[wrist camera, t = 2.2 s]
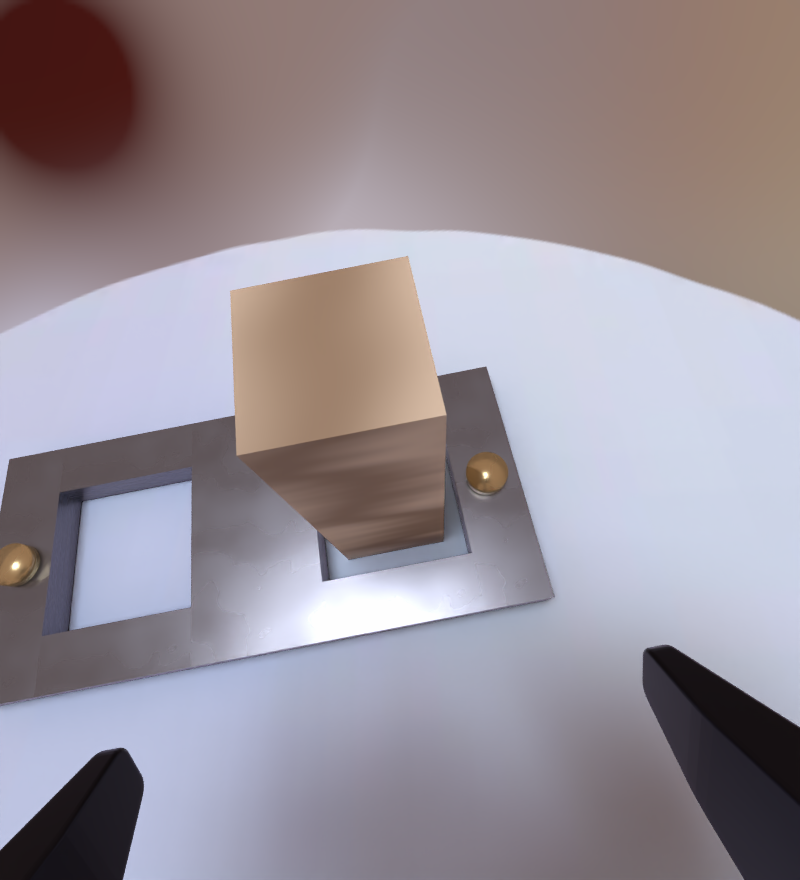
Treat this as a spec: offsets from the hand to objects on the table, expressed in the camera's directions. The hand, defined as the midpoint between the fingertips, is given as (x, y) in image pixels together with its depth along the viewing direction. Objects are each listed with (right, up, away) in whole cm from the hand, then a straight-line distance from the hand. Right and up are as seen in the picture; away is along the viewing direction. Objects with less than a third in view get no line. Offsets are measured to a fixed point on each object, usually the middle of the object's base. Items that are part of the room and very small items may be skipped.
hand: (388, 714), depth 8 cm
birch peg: (0, +2, +14) cm, 14 cm away
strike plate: (-6, 0, +14) cm, 16 cm away
